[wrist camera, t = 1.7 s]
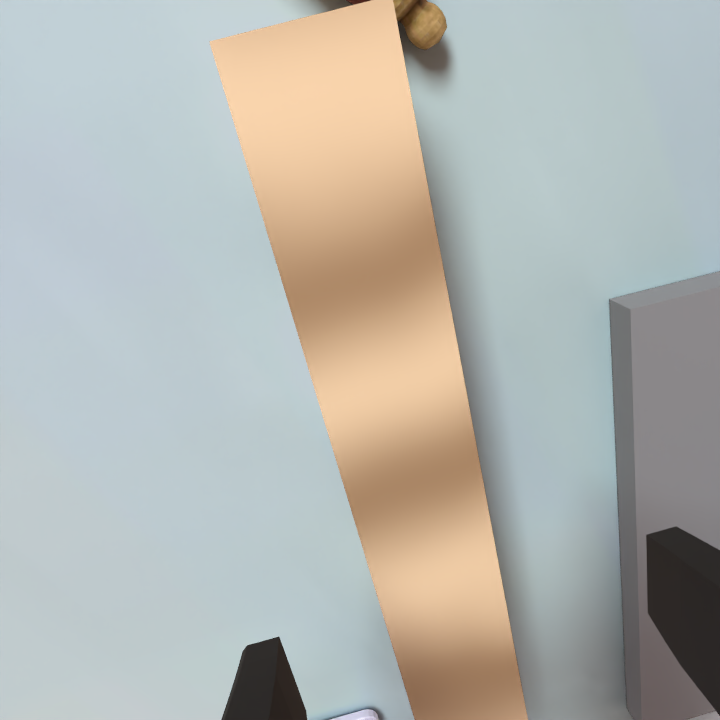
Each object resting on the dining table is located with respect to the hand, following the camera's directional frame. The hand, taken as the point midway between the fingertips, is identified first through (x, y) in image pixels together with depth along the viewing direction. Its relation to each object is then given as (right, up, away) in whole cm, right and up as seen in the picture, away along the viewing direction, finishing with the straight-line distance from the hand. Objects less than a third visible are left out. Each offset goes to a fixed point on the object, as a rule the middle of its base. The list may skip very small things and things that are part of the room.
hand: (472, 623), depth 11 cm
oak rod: (-1, +3, +9) cm, 9 cm away
